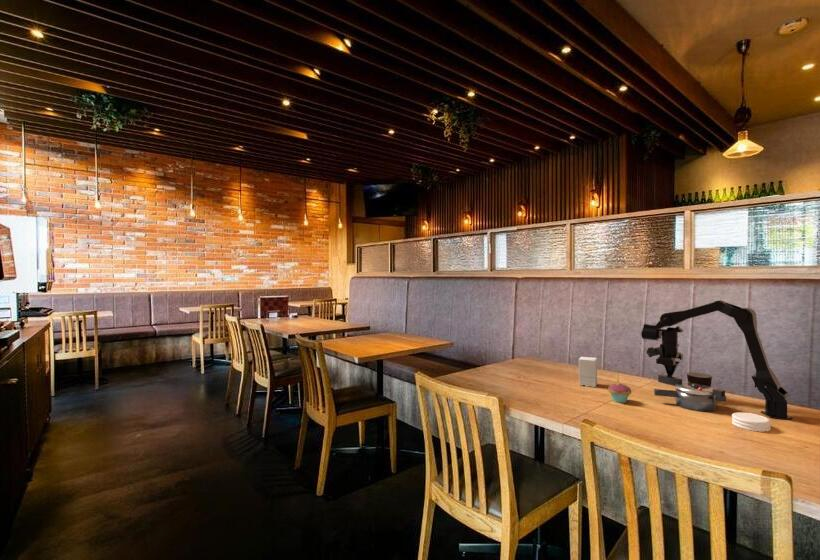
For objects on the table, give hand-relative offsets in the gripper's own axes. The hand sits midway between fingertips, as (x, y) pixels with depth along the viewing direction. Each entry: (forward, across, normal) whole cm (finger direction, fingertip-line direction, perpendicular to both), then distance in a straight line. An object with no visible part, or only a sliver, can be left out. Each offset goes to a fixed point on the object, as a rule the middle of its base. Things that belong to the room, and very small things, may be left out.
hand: (669, 378), depth 172 cm
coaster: (+8, +22, +28) cm, 36 cm away
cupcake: (+8, +22, -13) cm, 27 cm away
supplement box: (+8, +6, -32) cm, 33 cm away
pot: (+8, +10, +9) cm, 15 cm away
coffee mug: (+8, -5, +10) cm, 13 cm away
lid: (+1, +8, +8) cm, 12 cm away
